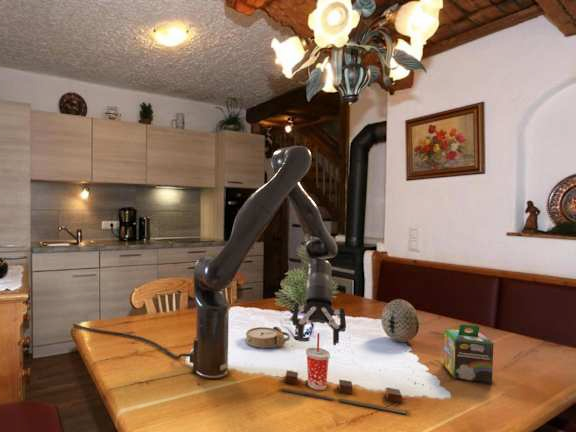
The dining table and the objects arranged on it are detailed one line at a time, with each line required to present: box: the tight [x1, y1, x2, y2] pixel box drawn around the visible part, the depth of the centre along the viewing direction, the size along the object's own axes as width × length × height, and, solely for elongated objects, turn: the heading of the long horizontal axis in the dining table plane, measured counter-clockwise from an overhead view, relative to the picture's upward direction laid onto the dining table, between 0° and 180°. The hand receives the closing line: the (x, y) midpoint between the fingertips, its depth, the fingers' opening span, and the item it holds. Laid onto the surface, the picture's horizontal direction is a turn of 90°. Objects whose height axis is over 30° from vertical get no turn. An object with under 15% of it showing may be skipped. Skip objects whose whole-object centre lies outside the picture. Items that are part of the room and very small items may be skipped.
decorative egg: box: [380, 298, 420, 343], centre depth 127 cm, size 12×12×15 cm
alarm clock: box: [245, 326, 291, 349], centre depth 123 cm, size 11×5×15 cm
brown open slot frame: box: [338, 379, 407, 416], centre depth 87 cm, size 14×8×2 cm, turn 70°
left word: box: [281, 370, 333, 401], centre depth 93 cm, size 12×8×2 cm, turn 70°
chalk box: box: [443, 323, 495, 385], centre depth 102 cm, size 9×9×15 cm
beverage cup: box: [305, 332, 331, 391], centre depth 94 cm, size 6×6×14 cm
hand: (318, 341), depth 97 cm, fingers open, 8 cm apart
